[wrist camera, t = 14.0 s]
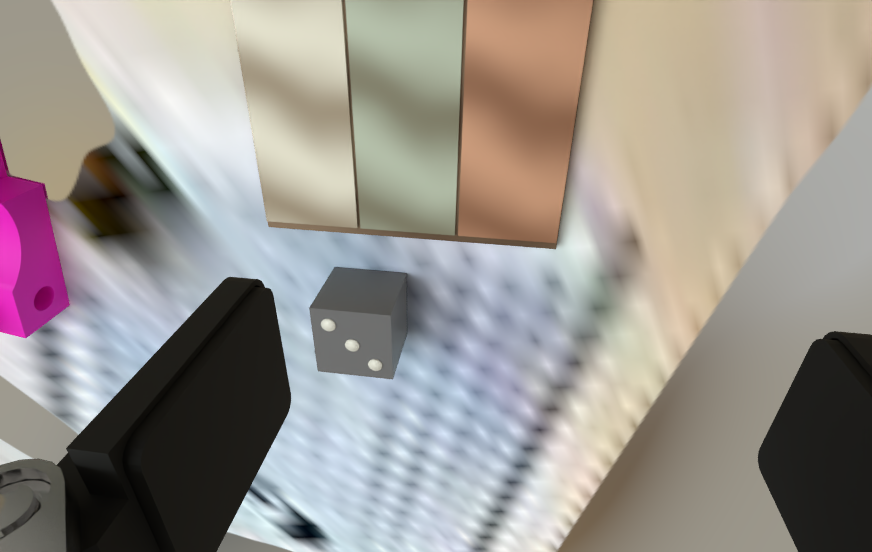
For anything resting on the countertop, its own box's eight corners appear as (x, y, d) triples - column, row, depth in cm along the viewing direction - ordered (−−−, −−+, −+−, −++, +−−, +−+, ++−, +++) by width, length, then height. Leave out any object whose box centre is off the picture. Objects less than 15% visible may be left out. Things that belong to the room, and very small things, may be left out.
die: (334, 267, 36) (308, 308, 31) (406, 273, 35) (390, 316, 31) (340, 326, 38) (317, 372, 34) (407, 332, 38) (392, 380, 33)
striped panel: (221, -90, 26) (213, -91, 25) (605, -88, 24) (607, -89, 23) (272, 223, 34) (267, 228, 34) (555, 244, 32) (556, 250, 32)
